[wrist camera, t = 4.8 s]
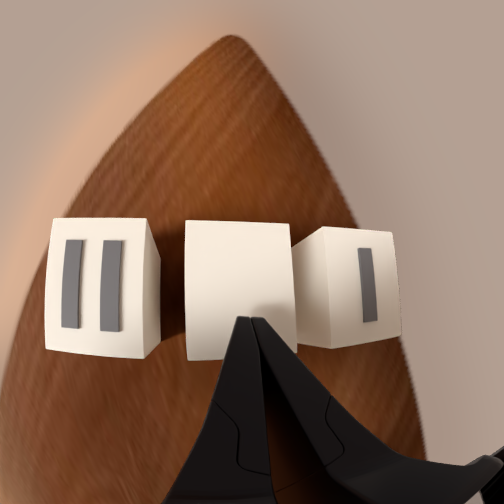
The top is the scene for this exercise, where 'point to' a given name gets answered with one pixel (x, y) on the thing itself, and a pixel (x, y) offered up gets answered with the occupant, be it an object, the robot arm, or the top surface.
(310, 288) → the marked block one
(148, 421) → the top surface
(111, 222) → the marked block two
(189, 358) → the plain block
